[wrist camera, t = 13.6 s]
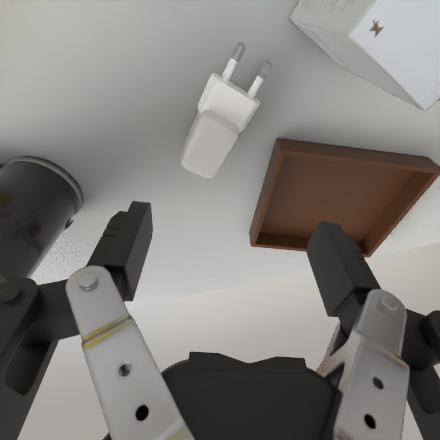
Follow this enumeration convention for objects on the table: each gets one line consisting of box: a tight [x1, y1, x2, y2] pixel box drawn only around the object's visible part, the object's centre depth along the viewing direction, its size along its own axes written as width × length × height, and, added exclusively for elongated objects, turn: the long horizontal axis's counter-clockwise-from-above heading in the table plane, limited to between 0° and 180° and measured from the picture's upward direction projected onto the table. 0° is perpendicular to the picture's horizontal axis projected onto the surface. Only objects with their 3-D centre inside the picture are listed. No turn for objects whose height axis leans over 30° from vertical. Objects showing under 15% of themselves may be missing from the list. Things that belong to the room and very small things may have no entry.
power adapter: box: [180, 42, 272, 179], centre depth 23 cm, size 11×5×6 cm, turn 151°
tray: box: [249, 138, 440, 257], centre depth 32 cm, size 18×15×3 cm
